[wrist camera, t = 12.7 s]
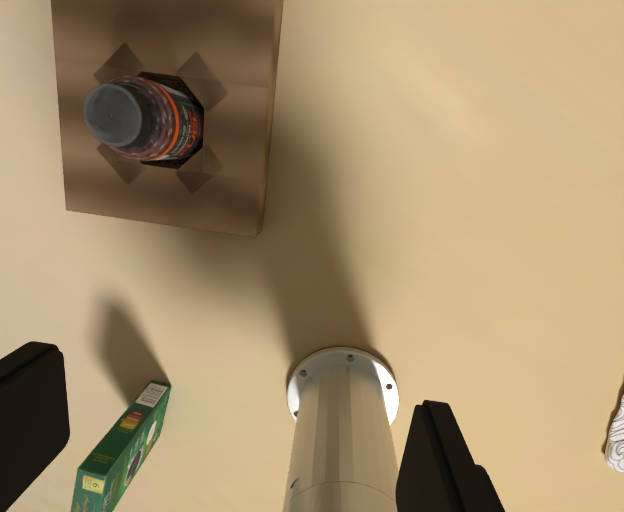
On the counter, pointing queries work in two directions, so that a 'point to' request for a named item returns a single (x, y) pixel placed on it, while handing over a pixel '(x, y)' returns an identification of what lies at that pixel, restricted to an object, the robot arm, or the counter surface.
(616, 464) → the cookie jar
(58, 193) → the counter surface
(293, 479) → the robot arm
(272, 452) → the counter surface
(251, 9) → the socket block
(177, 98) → the supplement bottle
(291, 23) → the counter surface
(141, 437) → the coffee box
